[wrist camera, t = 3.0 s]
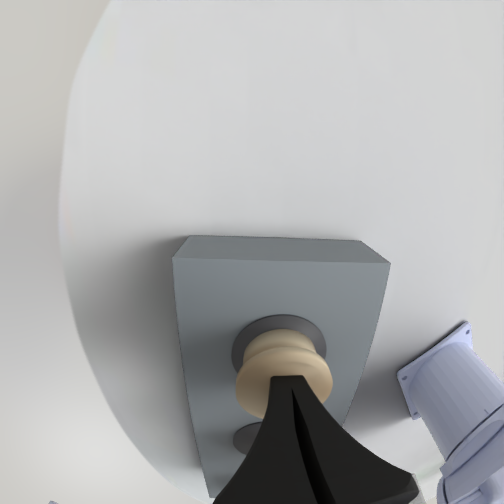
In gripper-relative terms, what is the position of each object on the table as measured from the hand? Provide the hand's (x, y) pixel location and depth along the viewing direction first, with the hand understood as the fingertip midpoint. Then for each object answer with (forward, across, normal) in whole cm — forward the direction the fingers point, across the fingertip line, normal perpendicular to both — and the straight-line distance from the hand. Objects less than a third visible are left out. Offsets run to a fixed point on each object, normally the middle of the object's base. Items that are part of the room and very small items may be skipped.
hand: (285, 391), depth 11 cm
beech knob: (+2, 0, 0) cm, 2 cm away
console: (+7, 0, +8) cm, 10 cm away
